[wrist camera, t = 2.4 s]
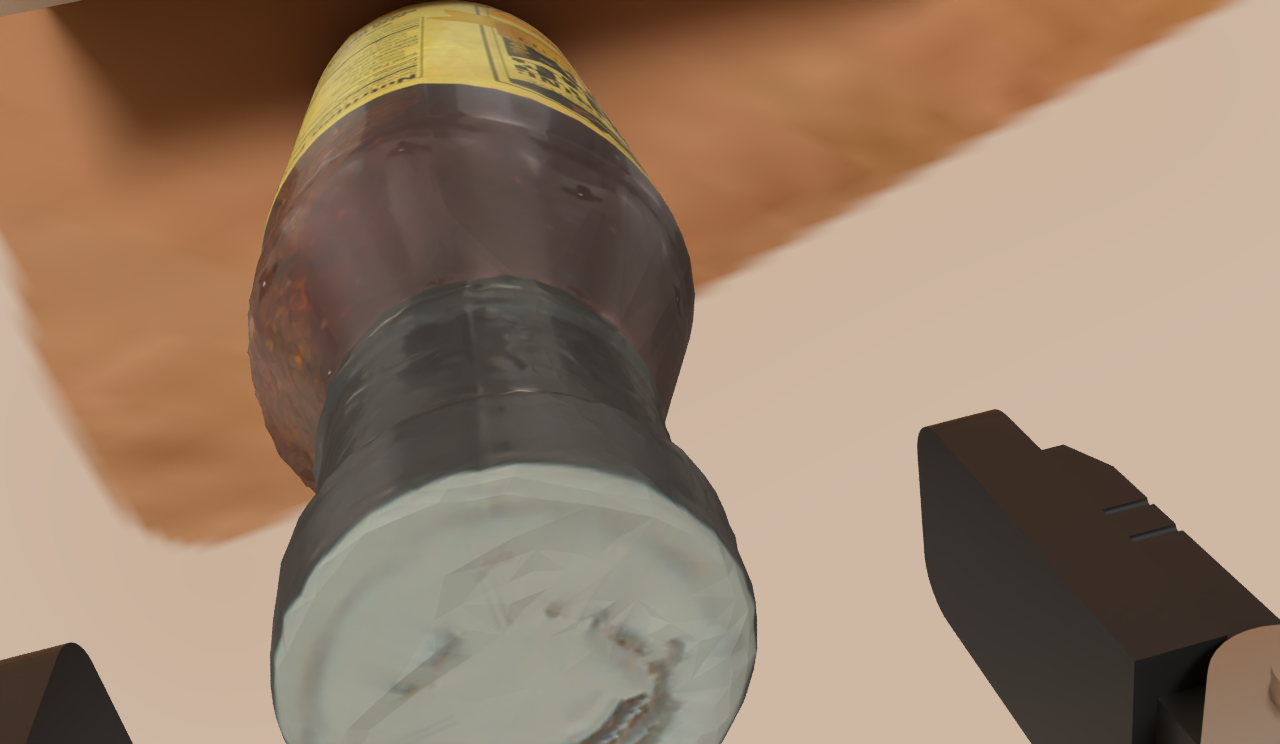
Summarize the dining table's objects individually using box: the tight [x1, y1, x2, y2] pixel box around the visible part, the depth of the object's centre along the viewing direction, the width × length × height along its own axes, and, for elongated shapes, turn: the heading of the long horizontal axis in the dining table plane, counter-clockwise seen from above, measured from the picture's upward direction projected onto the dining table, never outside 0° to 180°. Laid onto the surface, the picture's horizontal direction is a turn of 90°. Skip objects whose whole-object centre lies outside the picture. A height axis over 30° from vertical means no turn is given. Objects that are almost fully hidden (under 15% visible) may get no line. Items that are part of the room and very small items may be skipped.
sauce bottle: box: [248, 0, 757, 744], centre depth 19 cm, size 7×6×20 cm
